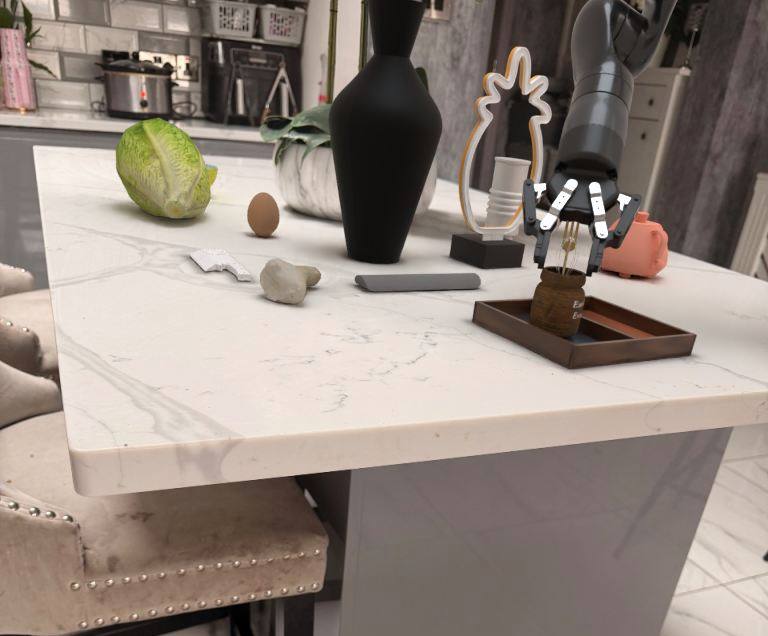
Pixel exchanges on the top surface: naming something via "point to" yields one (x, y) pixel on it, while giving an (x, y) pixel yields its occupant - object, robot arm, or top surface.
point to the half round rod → (418, 281)
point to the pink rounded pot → (638, 249)
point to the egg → (263, 214)
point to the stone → (287, 281)
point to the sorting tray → (588, 333)
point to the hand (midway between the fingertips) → (565, 268)
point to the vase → (384, 137)
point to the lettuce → (163, 170)
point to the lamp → (490, 242)
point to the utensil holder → (560, 294)
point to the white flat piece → (219, 262)
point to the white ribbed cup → (506, 192)
